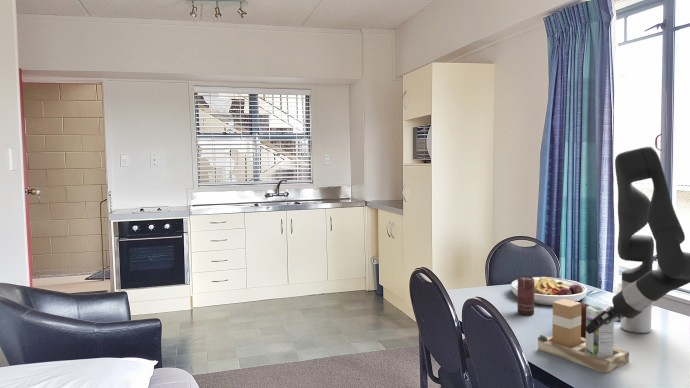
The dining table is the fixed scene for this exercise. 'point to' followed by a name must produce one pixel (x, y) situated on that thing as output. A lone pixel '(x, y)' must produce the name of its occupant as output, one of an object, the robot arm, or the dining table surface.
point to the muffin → (583, 319)
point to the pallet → (583, 355)
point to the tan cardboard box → (566, 323)
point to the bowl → (553, 290)
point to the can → (526, 296)
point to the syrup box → (599, 335)
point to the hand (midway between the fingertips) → (594, 327)
